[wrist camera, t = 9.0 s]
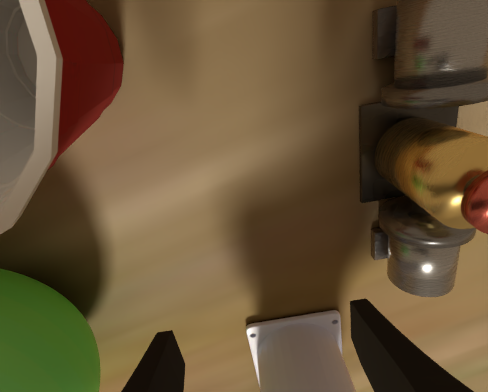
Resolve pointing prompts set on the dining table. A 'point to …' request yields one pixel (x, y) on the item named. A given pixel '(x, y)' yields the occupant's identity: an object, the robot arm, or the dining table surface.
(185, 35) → the dining table surface
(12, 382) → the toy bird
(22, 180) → the plastic cup
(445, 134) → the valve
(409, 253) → the grey metal fittings
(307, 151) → the dining table surface
